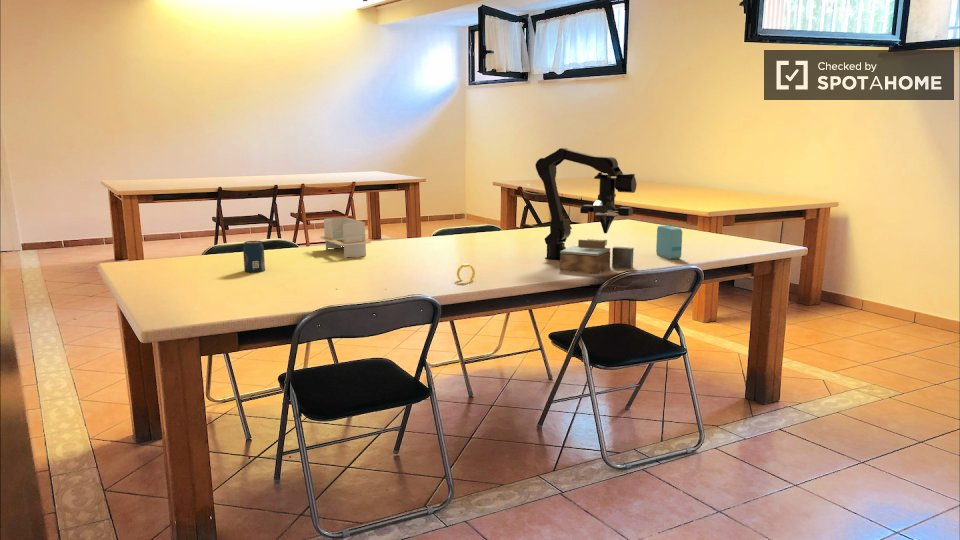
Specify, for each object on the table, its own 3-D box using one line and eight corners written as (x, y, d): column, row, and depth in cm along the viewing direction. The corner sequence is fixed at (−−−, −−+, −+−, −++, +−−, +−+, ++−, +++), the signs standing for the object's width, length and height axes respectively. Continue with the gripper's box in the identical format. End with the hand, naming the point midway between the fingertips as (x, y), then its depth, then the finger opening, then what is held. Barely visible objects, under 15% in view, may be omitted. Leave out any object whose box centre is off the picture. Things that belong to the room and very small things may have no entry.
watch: (472, 279, 246) (472, 262, 245) (475, 281, 244) (475, 264, 243) (456, 281, 244) (456, 264, 243) (459, 283, 241) (458, 265, 240)
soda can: (243, 274, 258) (241, 241, 256) (264, 272, 261) (262, 239, 259) (246, 277, 252) (243, 243, 250) (266, 276, 255) (264, 242, 253)
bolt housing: (612, 266, 268) (612, 247, 267) (614, 265, 271) (615, 246, 269) (630, 268, 265) (631, 249, 263) (632, 267, 267) (633, 247, 266)
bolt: (587, 244, 272) (587, 239, 271) (589, 243, 273) (589, 238, 273) (605, 245, 268) (605, 240, 268) (606, 245, 270) (607, 239, 270)
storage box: (560, 270, 262) (560, 254, 261) (574, 264, 274) (574, 248, 273) (597, 273, 255) (597, 257, 254) (609, 267, 267) (610, 251, 266)
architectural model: (319, 254, 303) (318, 218, 300) (349, 251, 310) (347, 216, 307) (341, 263, 282) (339, 225, 279) (372, 260, 288) (370, 222, 285)
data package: (681, 259, 283) (682, 228, 281) (670, 259, 282) (672, 229, 280) (665, 254, 295) (667, 225, 292) (655, 254, 294) (657, 225, 291)
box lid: (560, 253, 261) (560, 244, 260) (574, 247, 273) (574, 239, 272) (597, 256, 254) (597, 246, 253) (610, 250, 266) (610, 241, 266)
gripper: (575, 191, 266) (574, 234, 269) (624, 194, 257) (622, 238, 260) (586, 189, 276) (585, 230, 279) (634, 192, 267) (632, 234, 270)
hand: (605, 233), depth 271 cm, fingers closed
